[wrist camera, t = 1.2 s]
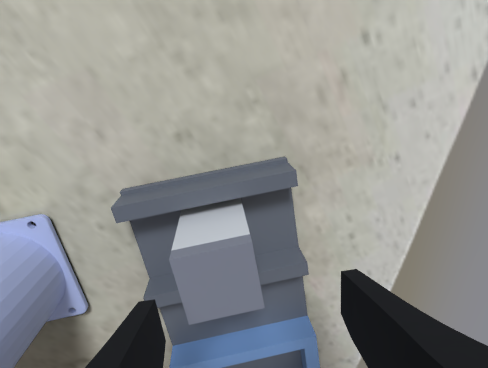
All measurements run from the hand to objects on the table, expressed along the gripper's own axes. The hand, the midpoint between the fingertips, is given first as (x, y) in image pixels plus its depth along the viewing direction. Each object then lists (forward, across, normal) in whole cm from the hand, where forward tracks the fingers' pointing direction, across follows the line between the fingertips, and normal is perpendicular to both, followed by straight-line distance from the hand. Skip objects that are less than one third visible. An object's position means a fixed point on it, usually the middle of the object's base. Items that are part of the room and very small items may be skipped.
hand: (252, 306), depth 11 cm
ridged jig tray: (+10, +1, +8) cm, 12 cm away
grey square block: (+9, +2, +1) cm, 9 cm away
